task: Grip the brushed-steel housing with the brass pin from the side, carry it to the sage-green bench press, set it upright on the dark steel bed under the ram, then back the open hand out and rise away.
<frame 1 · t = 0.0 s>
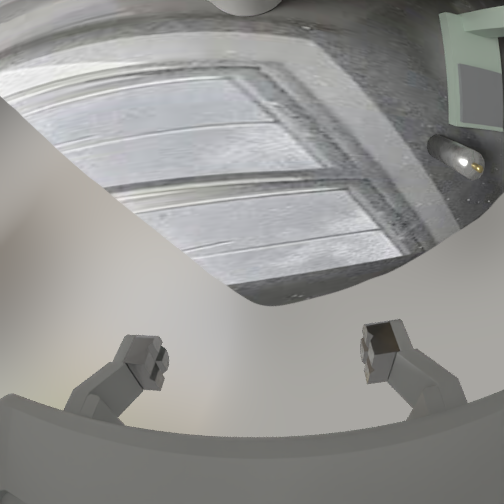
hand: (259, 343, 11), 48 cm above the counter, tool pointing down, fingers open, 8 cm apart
press: (473, 94, 42), on the counter
housing: (437, 146, 50), on the counter
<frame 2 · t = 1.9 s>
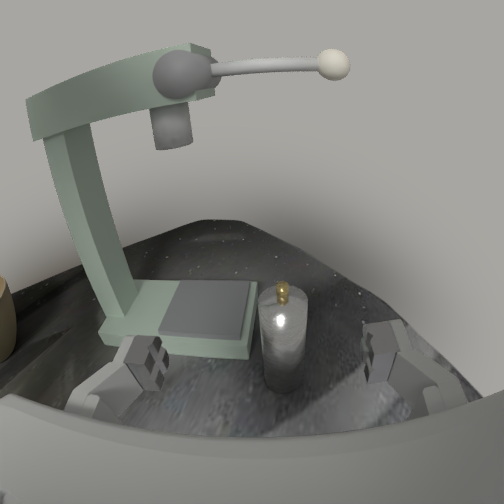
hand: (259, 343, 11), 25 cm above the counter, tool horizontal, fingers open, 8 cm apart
press: (210, 322, 47), on the counter
flower pot: (2, 349, 41), on the counter
housing: (283, 378, 37), on the counter
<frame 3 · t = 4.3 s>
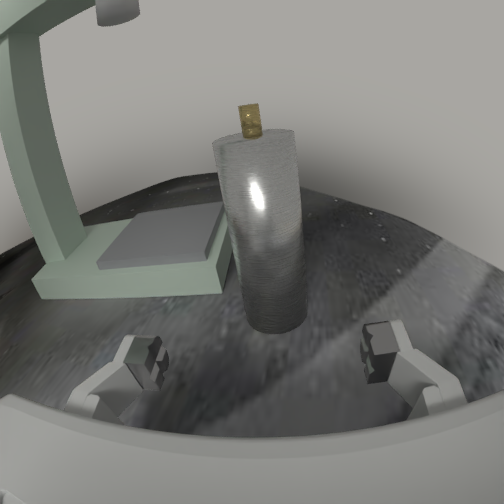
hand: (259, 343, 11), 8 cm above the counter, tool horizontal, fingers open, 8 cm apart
press: (172, 258, 35), on the counter
housing: (276, 312, 25), on the counter
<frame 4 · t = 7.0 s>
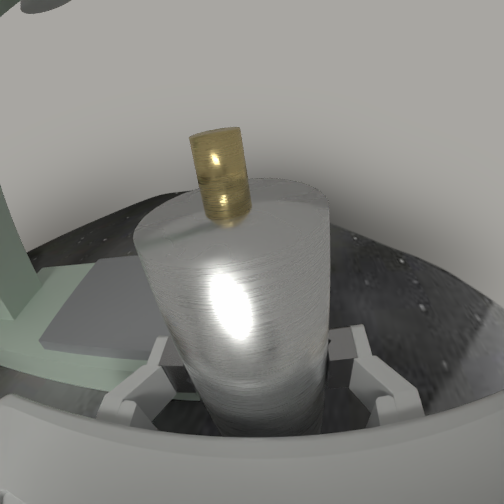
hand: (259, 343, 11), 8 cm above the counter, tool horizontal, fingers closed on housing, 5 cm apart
press: (139, 328, 25), on the counter
housing: (275, 442, 15), on the counter, touching gripper
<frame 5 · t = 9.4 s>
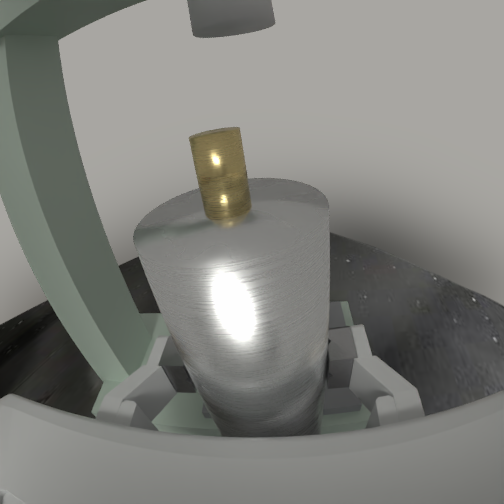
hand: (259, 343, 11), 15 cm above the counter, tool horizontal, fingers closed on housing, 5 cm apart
press: (284, 378, 27), on the counter
housing: (275, 442, 15), point 7 cm above the counter, touching gripper
when the fingers open (13 cm above the counter, at t = 11.8 s): housing drops 1 cm, resting on press.
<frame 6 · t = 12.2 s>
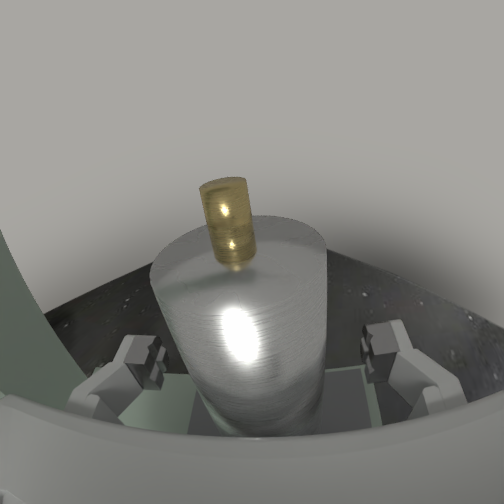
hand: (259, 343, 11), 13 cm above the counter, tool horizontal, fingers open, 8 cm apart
press: (281, 467, 17), on the counter
housing: (277, 450, 15), point 4 cm above the counter, touching press
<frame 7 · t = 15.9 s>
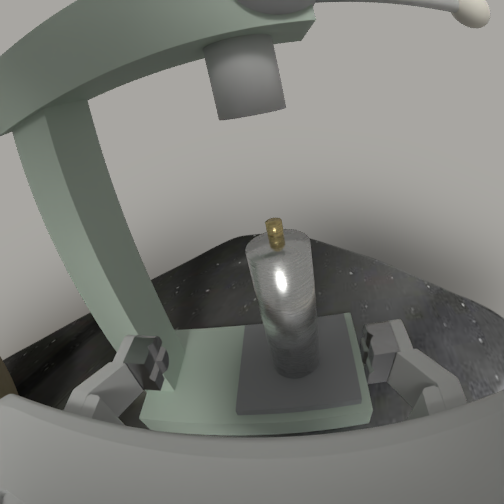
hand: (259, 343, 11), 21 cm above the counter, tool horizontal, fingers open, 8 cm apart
press: (299, 379, 32), on the counter
flower pot: (10, 435, 27), on the counter
housing: (296, 359, 30), point 4 cm above the counter, touching press
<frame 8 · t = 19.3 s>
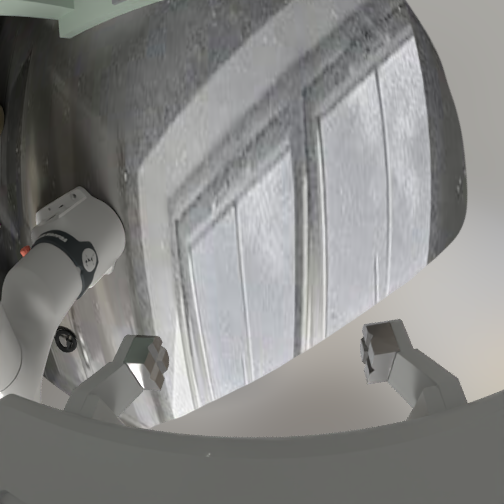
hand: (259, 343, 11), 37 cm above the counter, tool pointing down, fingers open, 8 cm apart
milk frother: (55, 323, 69), on the counter
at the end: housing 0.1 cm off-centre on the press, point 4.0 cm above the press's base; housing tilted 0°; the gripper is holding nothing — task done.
